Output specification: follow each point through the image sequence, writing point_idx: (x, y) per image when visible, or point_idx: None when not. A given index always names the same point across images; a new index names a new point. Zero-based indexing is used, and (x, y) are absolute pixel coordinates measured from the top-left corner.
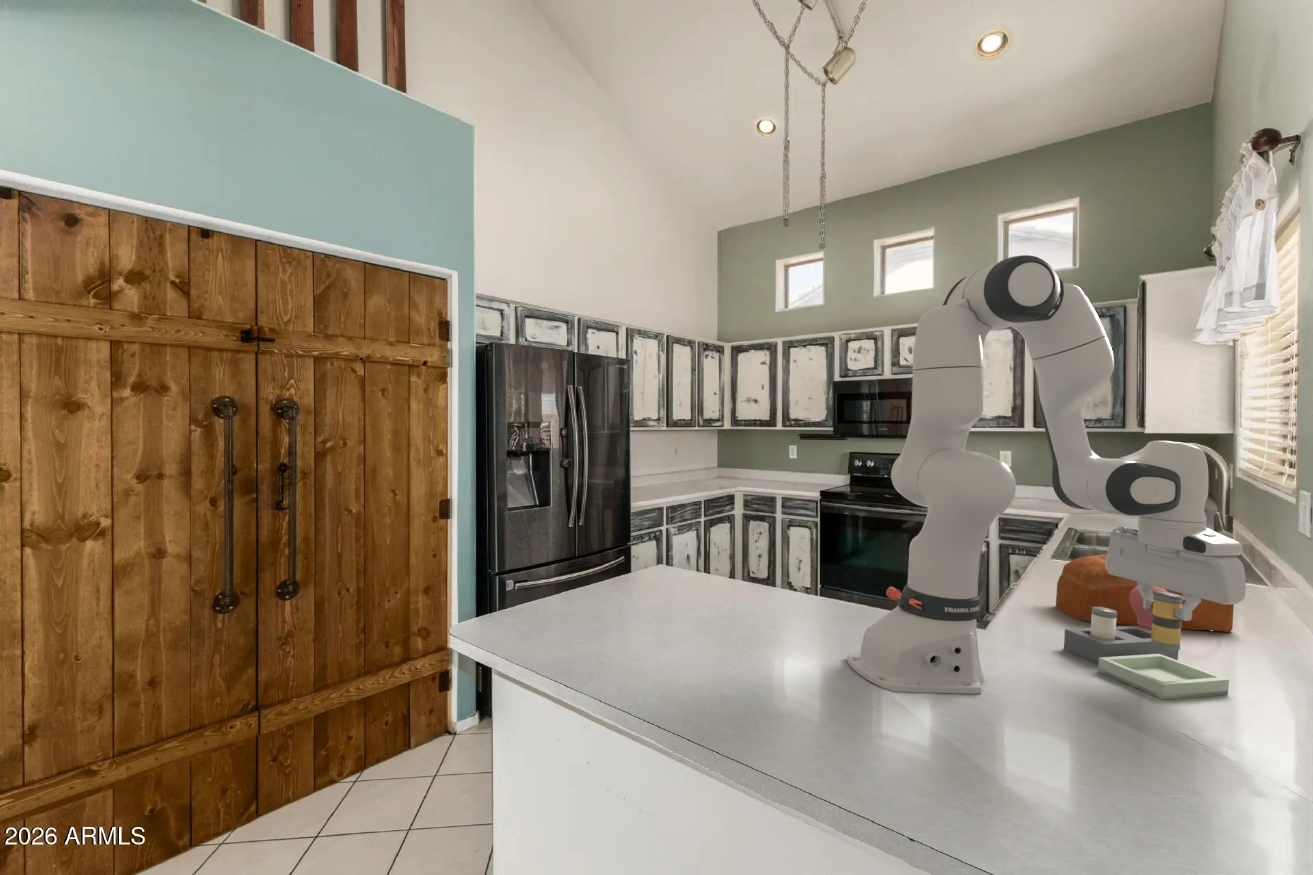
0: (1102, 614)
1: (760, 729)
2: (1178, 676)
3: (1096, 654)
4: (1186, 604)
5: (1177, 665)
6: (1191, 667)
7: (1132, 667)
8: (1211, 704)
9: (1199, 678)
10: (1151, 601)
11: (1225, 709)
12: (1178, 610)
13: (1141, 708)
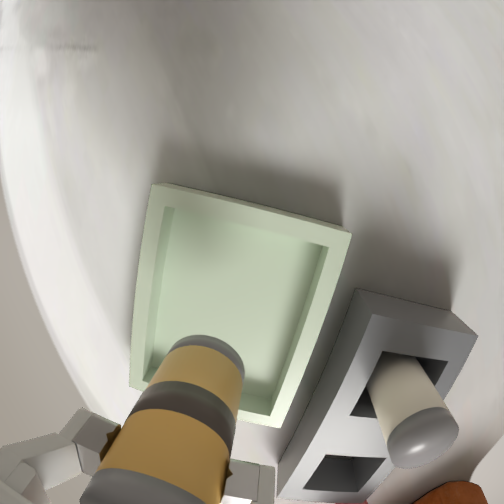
0: (423, 415)
1: None
2: None
3: (380, 301)
4: (31, 448)
5: None
6: None
7: (298, 324)
8: (119, 272)
9: None
10: (226, 493)
11: (98, 270)
12: (85, 438)
13: (167, 75)
